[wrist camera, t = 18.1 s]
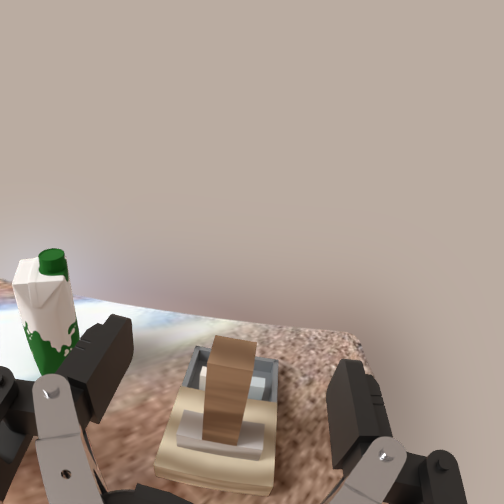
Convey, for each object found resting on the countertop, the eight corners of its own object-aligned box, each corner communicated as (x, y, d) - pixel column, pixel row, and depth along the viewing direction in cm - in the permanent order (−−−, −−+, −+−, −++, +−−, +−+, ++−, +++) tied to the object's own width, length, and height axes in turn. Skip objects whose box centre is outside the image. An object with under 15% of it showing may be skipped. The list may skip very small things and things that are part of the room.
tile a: (226, 380, 43) (228, 371, 45) (199, 375, 44) (202, 366, 45) (224, 397, 45) (226, 388, 47) (198, 392, 45) (201, 383, 47)
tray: (273, 414, 44) (276, 403, 42) (181, 398, 44) (181, 386, 43) (275, 372, 52) (278, 359, 51) (195, 358, 53) (195, 345, 52)
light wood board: (267, 496, 30) (273, 486, 29) (155, 476, 31) (153, 464, 29) (272, 416, 43) (277, 402, 42) (180, 400, 44) (180, 385, 42)
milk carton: (87, 378, 43) (65, 267, 35) (36, 382, 39) (2, 272, 31) (83, 343, 50) (68, 240, 42) (38, 347, 46) (15, 244, 38)
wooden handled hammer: (258, 461, 32) (287, 375, 26) (176, 446, 33) (173, 355, 26) (260, 436, 36) (287, 347, 30) (184, 422, 36) (185, 329, 30)
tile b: (264, 387, 43) (265, 378, 45) (237, 383, 43) (238, 374, 45) (260, 404, 45) (261, 395, 47) (234, 400, 45) (235, 391, 47)
